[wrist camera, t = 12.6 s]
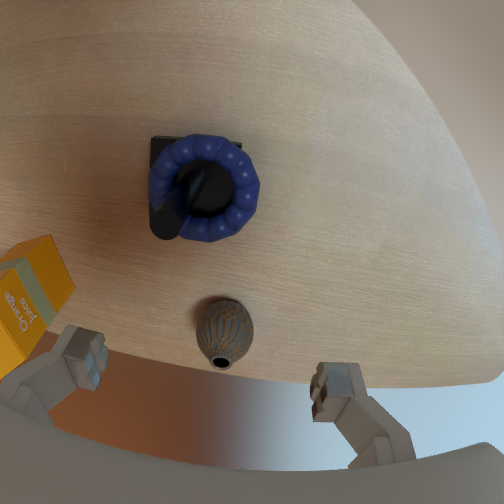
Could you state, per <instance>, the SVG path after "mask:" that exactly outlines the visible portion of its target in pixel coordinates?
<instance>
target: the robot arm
mask: <svg viewBox="0 0 504 504" xmlns="http://www.w3.org/2000/svg"><path fill="white" fill-rule="evenodd" d="M104 341H105V338H104V335H103V333H100V332H96V331H92V330H88V329H85V328H81V327H77V326H73V325H68V326H66V327H65V329H64V330H63V332H62V334H61V335H60V337H59V339H58V340H57V342H56V343H55V345H54V347H53V348H52V350H51V352H50V353H49V352H46V353H44V354H42V355H40V356H39V357H37V358H35V359H33V360H32V361H30V362H28V363H26V364H24V365H23V366H21V367H19V368H17V369H16V370H14V371H12V372H10V373H8V374H7V375H5V376H4V378H3V380H2V381H1V383H0V504H504V455H503V454H502V453H501V452H500V451H499V450H497V449H496V448H495V447H494V446H492V445H491V444H489V443H487V442H482V443H477V444H475V445H471V446H468V447H464V448H461V449H457V450H453V451H450V452H446V453H442V454H438V455H434V456H429V457H424V458H420V459H416V455H415V451H414V448H413V444H412V440H411V437H410V433H409V432H408V431H407V430H406V429H405V428H404V427H403V426H402V425H401V424H400V423H399V422H397V421H396V419H394V418H393V417H392V416H391V415H390V414H389V413H388V412H387V411H386V410H385V409H384V408H383V407H382V406H381V405H379V403H378V402H377V401H376V400H375V399H374V398H372V397H371V396H368V395H367V391H366V387H365V384H364V380H363V377H362V373H361V369H360V366H359V364H358V363H342V362H320V363H319V364H318V366H317V368H316V369H317V373H316V374H315V375H313V377H312V380H311V384H310V398H311V399H312V400H313V401H314V404H313V406H312V415H313V422H334V424H335V425H336V427H337V428H338V429H339V431H340V432H341V433H342V434H343V436H344V437H345V439H346V440H347V441H348V442H349V444H350V445H351V446H352V448H353V449H354V450H355V452H356V453H357V454H358V456H357V457H356V458H355V459H354V460H353V461H352V462H351V463H350V464H349V465H348V469H340V470H325V471H324V470H323V471H261V470H243V469H232V468H221V467H212V466H204V465H197V464H191V463H184V462H178V461H173V460H167V459H162V458H157V457H153V456H148V455H143V454H139V453H135V452H131V451H127V450H123V449H119V448H116V447H112V446H109V445H105V444H102V443H99V442H95V441H92V440H89V439H86V438H83V437H80V436H77V435H74V434H71V433H69V432H66V431H63V430H61V429H58V428H55V427H53V426H54V422H53V420H52V419H51V417H50V416H49V414H48V413H47V412H48V411H49V410H50V409H51V408H53V407H54V406H55V405H57V404H58V403H59V402H60V401H61V400H63V399H64V398H65V397H66V396H68V395H69V394H70V393H71V392H73V391H74V390H75V389H76V388H77V387H80V388H84V389H88V390H92V391H96V390H97V388H98V385H99V383H100V381H101V377H100V373H101V372H103V371H104V370H105V369H106V366H107V363H108V349H107V347H106V346H105V345H104V344H103V343H104Z"/></svg>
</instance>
